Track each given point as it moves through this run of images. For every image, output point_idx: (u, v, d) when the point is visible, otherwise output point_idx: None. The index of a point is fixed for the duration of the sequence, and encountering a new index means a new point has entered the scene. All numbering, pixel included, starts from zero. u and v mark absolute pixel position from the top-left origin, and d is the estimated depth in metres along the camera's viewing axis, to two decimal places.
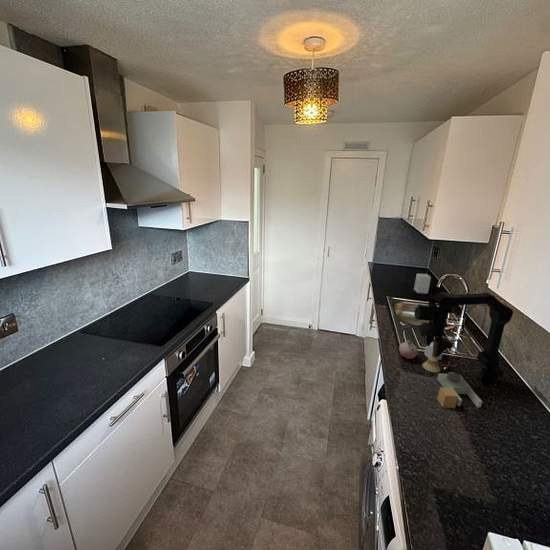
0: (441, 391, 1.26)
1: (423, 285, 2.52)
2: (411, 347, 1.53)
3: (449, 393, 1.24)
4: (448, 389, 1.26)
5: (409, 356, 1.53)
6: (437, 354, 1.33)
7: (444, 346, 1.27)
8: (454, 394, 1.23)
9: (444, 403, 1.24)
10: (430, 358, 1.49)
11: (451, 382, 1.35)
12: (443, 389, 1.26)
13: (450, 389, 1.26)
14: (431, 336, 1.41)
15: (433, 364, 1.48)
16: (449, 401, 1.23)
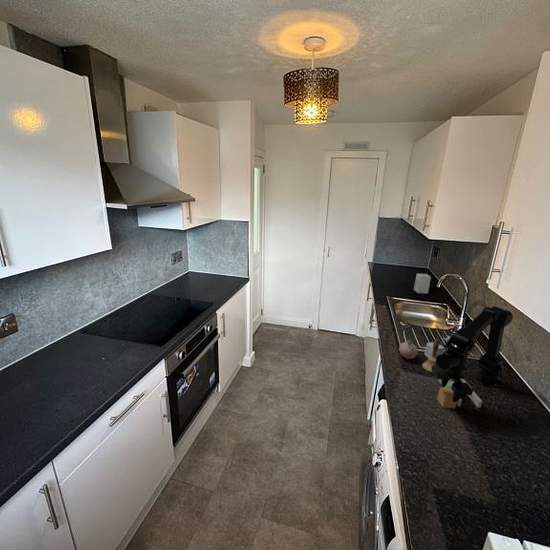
0: (441, 391, 1.26)
1: (423, 285, 2.52)
2: (411, 347, 1.53)
3: (449, 393, 1.24)
4: (448, 389, 1.26)
5: (409, 356, 1.53)
6: (455, 399, 1.20)
7: (463, 393, 1.14)
8: None
9: (444, 403, 1.24)
10: (430, 358, 1.49)
11: (451, 382, 1.35)
12: (443, 389, 1.26)
13: (450, 389, 1.26)
14: None
15: (433, 364, 1.48)
16: (449, 401, 1.23)
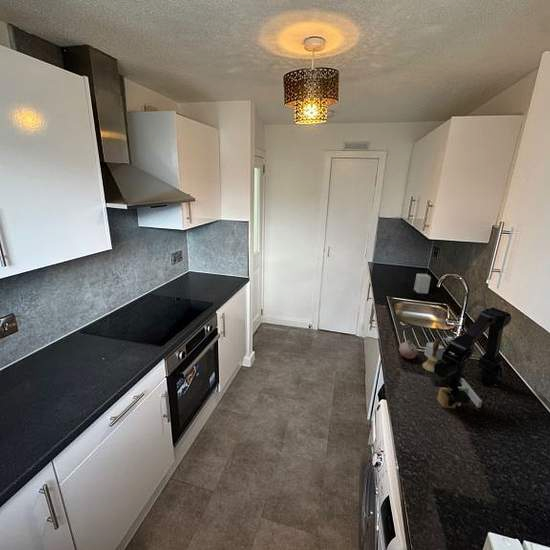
0: (441, 391, 1.26)
1: (423, 285, 2.52)
2: (411, 347, 1.53)
3: None
4: (448, 389, 1.26)
5: (409, 356, 1.53)
6: (450, 404, 1.23)
7: (461, 401, 1.15)
8: None
9: (444, 403, 1.24)
10: (430, 358, 1.49)
11: None
12: (443, 389, 1.26)
13: (450, 389, 1.26)
14: (447, 386, 1.28)
15: (433, 364, 1.48)
16: None
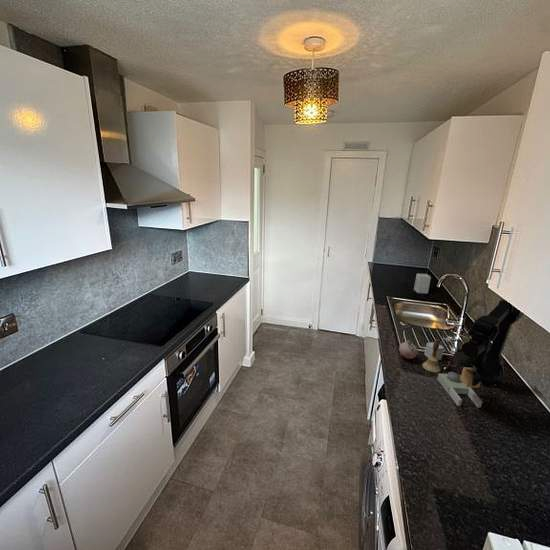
0: (465, 371, 1.25)
1: (423, 285, 2.52)
2: (411, 347, 1.53)
3: None
4: (472, 369, 1.25)
5: (409, 356, 1.53)
6: (475, 383, 1.22)
7: (487, 379, 1.14)
8: None
9: (468, 382, 1.23)
10: (430, 358, 1.49)
11: (451, 382, 1.35)
12: (467, 369, 1.25)
13: (474, 369, 1.26)
14: (471, 366, 1.27)
15: (433, 364, 1.48)
16: None
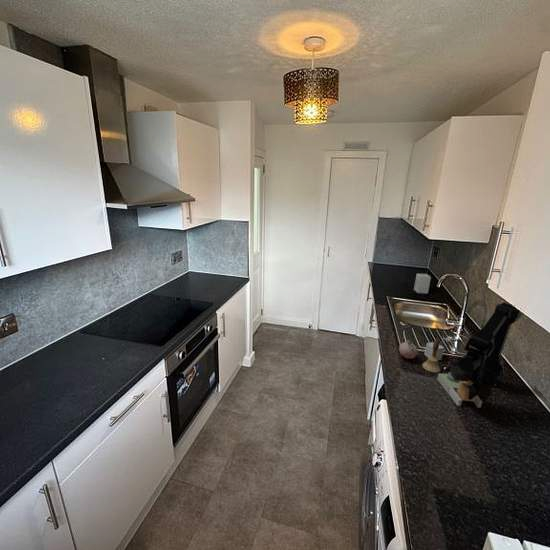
0: (461, 384, 1.27)
1: (423, 285, 2.52)
2: (411, 347, 1.53)
3: None
4: (468, 382, 1.28)
5: (409, 356, 1.53)
6: (471, 397, 1.24)
7: (483, 394, 1.16)
8: None
9: (464, 396, 1.25)
10: (430, 358, 1.49)
11: (451, 382, 1.35)
12: (463, 382, 1.27)
13: (470, 382, 1.28)
14: (467, 380, 1.29)
15: (433, 364, 1.48)
16: None
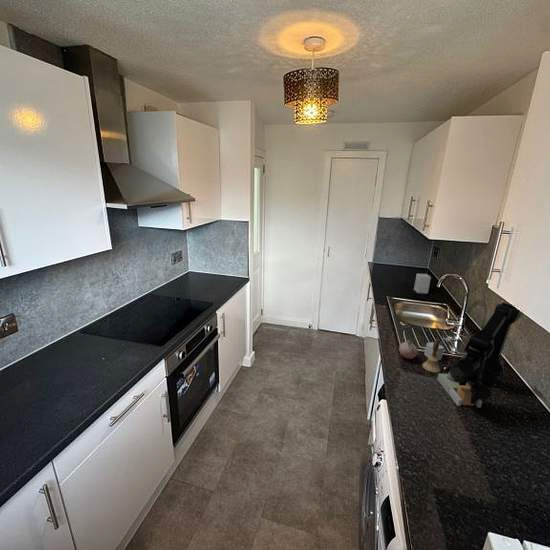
0: (460, 389, 1.28)
1: (423, 285, 2.52)
2: (411, 347, 1.53)
3: (468, 390, 1.26)
4: (467, 387, 1.28)
5: (409, 356, 1.53)
6: (473, 401, 1.22)
7: (483, 395, 1.16)
8: None
9: (463, 400, 1.26)
10: (430, 358, 1.49)
11: (451, 382, 1.35)
12: (462, 387, 1.28)
13: (469, 387, 1.28)
14: None
15: (433, 364, 1.48)
16: (468, 398, 1.25)
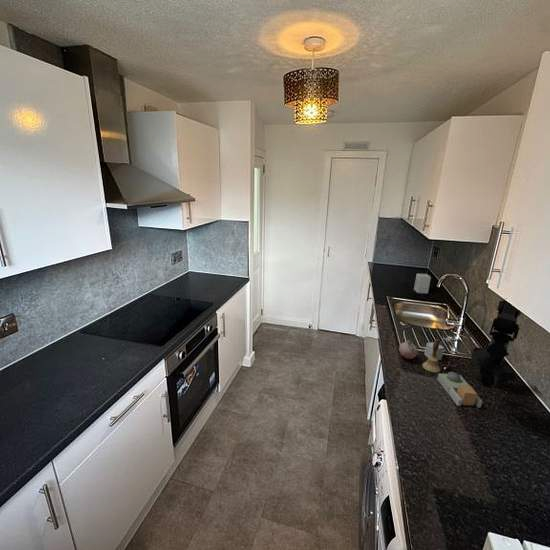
0: (460, 389, 1.28)
1: (423, 285, 2.52)
2: (411, 347, 1.53)
3: (468, 390, 1.26)
4: (467, 387, 1.28)
5: (409, 356, 1.53)
6: (496, 385, 1.18)
7: (507, 378, 1.12)
8: (473, 391, 1.25)
9: (463, 400, 1.26)
10: (430, 358, 1.49)
11: (451, 382, 1.35)
12: (462, 387, 1.28)
13: (469, 387, 1.28)
14: None
15: (433, 364, 1.48)
16: (468, 398, 1.25)
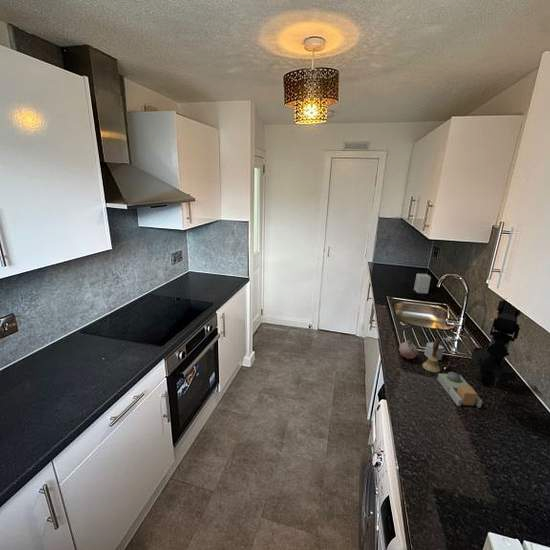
0: (460, 389, 1.28)
1: (423, 285, 2.52)
2: (411, 347, 1.53)
3: (468, 390, 1.26)
4: (467, 387, 1.28)
5: (409, 356, 1.53)
6: (497, 385, 1.18)
7: (508, 378, 1.12)
8: (473, 392, 1.25)
9: (463, 400, 1.26)
10: (430, 358, 1.49)
11: (451, 382, 1.35)
12: (462, 387, 1.28)
13: (469, 387, 1.28)
14: None
15: (433, 364, 1.48)
16: (468, 398, 1.25)
